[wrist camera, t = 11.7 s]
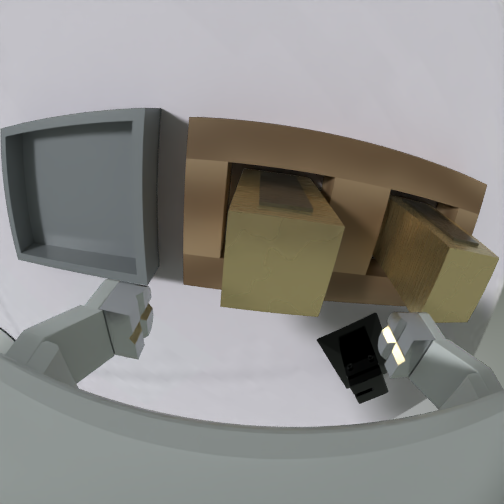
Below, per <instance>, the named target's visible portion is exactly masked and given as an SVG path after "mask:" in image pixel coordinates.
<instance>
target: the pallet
mask: <svg viewBox="0 0 504 504" xmlns="http://www.w3.org/2000/svg"><path fill="white" fill-rule="evenodd" d="M232 162H234V163H243V164H252V165H260V166H268V167H276V168H283V169H290V170H296V171H302V172H309V173H315V174H320V175H324V179H323V184H322V189H321V194H322V195H323V197H324V198H325V199H326V201H327V202H328V203H329V205H330V206H331V208H332V209H333V210H334V212H335V213H336V215H337V216H338V218H339V219H340V220H341V222H342V223H343V225H344V226H345V228H344V232H343V236H342V240H341V243H340V247H339V250H338V254H337V258H336V261H335V265H334V268H333V271H332V275H331V278H330V281H329V285H328V288H327V291H326V294H325V297H324V300H323V301H335V302H347V303H361V304H375V305H392V306H406V305H405V304H404V302H403V300H402V299H401V297H400V296H399V294H398V292H397V291H396V289H395V288H394V286H393V284H392V283H391V281H390V280H389V278H388V277H387V275H386V274H385V272H384V271H383V269H382V268H381V266H380V265H379V263H378V262H377V260H376V259H372V258H371V257H372V254H373V251H374V248H375V245H376V241H377V238H378V235H379V232H380V228H381V225H382V221H383V218H384V214H385V211H386V207H387V203H388V199H389V195H390V191H391V189H392V190H396V191H400V192H404V193H408V194H412V195H416V196H420V197H423V198H427V199H430V200H434V201H437V202H438V205H437V208H436V210H438V211H439V212H441V213H442V214H444V215H445V216H446V217H448V218H449V219H451V220H452V221H453V222H455V223H456V224H457V225H459V226H460V227H462V228H463V229H464V230H465V231H467V232H468V233H469V234H471V235H472V233H473V230H474V227H475V224H476V221H477V218H478V215H479V212H480V209H481V205H482V202H483V198H484V195H485V191H486V187H487V185H486V184H484V183H482V182H480V181H478V180H476V179H474V178H471V177H469V176H467V175H465V174H462V173H460V172H457V171H455V170H452V169H450V168H447V167H444V166H442V165H439V164H436V163H433V162H431V161H428V160H425V159H422V158H419V157H416V156H413V155H410V154H407V153H403V152H400V151H397V150H394V149H390V148H387V147H383V146H380V145H376V144H372V143H368V142H364V141H360V140H356V139H352V138H348V137H343V136H339V135H334V134H330V133H325V132H320V131H314V130H309V129H303V128H297V127H291V126H285V125H278V124H271V123H263V122H255V121H245V120H235V119H223V118H208V117H189V127H188V139H187V153H186V170H185V191H184V224H183V282H184V285H191V286H198V287H205V288H213V289H221V290H222V278H223V266H224V254H225V242H226V240H225V235H226V223H227V212H228V201H229V190H230V180H231V170H232Z"/></svg>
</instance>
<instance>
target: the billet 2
mask: <svg viewBox="0 0 504 504" xmlns="http://www.w3.org/2000/svg"><path fill="white" fill-rule="evenodd" d="M373 256H374V257H375V259H376V260H377V262H378V263H379V265H380V266H381V268H382V269H383V271H384V272H385V274H386V275H387V277H388V278H389V280H390V281H391V283H392V284H393V286H394V288H395V289H396V291H397V292H398V294H399V296H400V297H401V299H402V300H403V302H404V304H405V305H406V307H407V309H408V310H409V312H426V313H428V314H429V315H430V316H431V318H432V319H433V321H434V322H435V323H452V322H468V320H469V318H470V317H471V315H472V313H473V311H474V310H475V308H476V306H477V304H478V302H479V300H480V298H481V296H482V294H483V292H484V290H485V288H486V286H487V284H488V282H489V280H490V278H491V276H492V274H493V271H494V269H495V267H496V265H497V262H498V260H499V257H497V256H496V255H495V254H494V253H493V252H492V251H490V250H489V249H488V248H487V247H486V246H484V245H483V244H482V243H481V242H479V241H478V240H477V239H476V238H474V237H473V236H472V235H471V234H469V233H468V232H467V231H465V230H464V229H463V228H462V227H460V226H459V225H457V224H456V223H455V222H453V221H452V220H451V219H449V218H448V217H446V216H445V215H444V214H442V213H441V212H439V211H438V210H436V209H435V208H434V207H432V206H431V205H429V204H426V203H422V202H418V201H415V200H411V199H407V198H403V197H398V196H394V195H389V199H388V203H387V207H386V211H385V214H384V218H383V221H382V225H381V228H380V232H379V235H378V238H377V241H376V245H375V248H374V251H373Z"/></svg>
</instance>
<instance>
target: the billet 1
mask: <svg viewBox="0 0 504 504" xmlns="http://www.w3.org/2000/svg"><path fill="white" fill-rule="evenodd" d="M344 228H345V226H344V225H343V223H342V222H341V220H340V219H339V218H338V216H337V215H336V213H335V212H334V210H333V209H332V208H331V206H330V205H329V203H328V202H327V201H326V199H325V198H324V197H323V195H322V194H321V192H320V191H319V190H318V188H317V187H316V186H315V184H314V183H313V182H312V180H311V179H310V178H309V177H303V176H297V175H290V174H283V173H277V172H269V171H262V170H254V169H246V168H244V169H243V172H242V175H241V177H240V180H239V183H238V185H237V188H236V191H235V194H234V196H233V199H232V202H231V205H230V207H229V210H228V220H227V231H226V242H225V254H224V266H223V278H222V292H221V305H220V306H221V307H228V308H236V309H244V310H253V311H262V312H271V313H281V314H291V315H303V316H314V317H318V316H319V313H320V310H321V307H322V304H323V300H324V297H325V294H326V291H327V288H328V285H329V281H330V278H331V275H332V271H333V268H334V265H335V261H336V258H337V254H338V250H339V247H340V243H341V240H342V236H343V232H344Z"/></svg>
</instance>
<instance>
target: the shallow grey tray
mask: <svg viewBox="0 0 504 504" xmlns="http://www.w3.org/2000/svg"><path fill="white" fill-rule="evenodd" d="M160 116H161V108H131V109H115V110H103V111H93V112H84V113H77V114H69V115H63V116H57V117H51V118H45V119H40V120H35V121H30V122H26V123H22V124H17V125H13V126H9V127H5V128H2V129H1V159H2V172H3V182H4V191H5V198H6V205H7V211H8V217H9V222H10V227H11V232H12V236H13V241H14V245H15V249H16V253H17V257H18V259H19V260H23V261H27V262H31V263H36V264H40V265H44V266H49V267H53V268H58V269H63V270H68V271H72V272H77V273H82V274H87V275H93V276H98V277H103V278H108V279H114V280H120V281H125V282H131V283H137V284H143V285H148V284H149V282H150V280H151V279H152V277H153V275H154V274H155V272H156V271H157V269H158V267H159V254H158V225H157V175H158V147H159V129H160Z"/></svg>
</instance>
